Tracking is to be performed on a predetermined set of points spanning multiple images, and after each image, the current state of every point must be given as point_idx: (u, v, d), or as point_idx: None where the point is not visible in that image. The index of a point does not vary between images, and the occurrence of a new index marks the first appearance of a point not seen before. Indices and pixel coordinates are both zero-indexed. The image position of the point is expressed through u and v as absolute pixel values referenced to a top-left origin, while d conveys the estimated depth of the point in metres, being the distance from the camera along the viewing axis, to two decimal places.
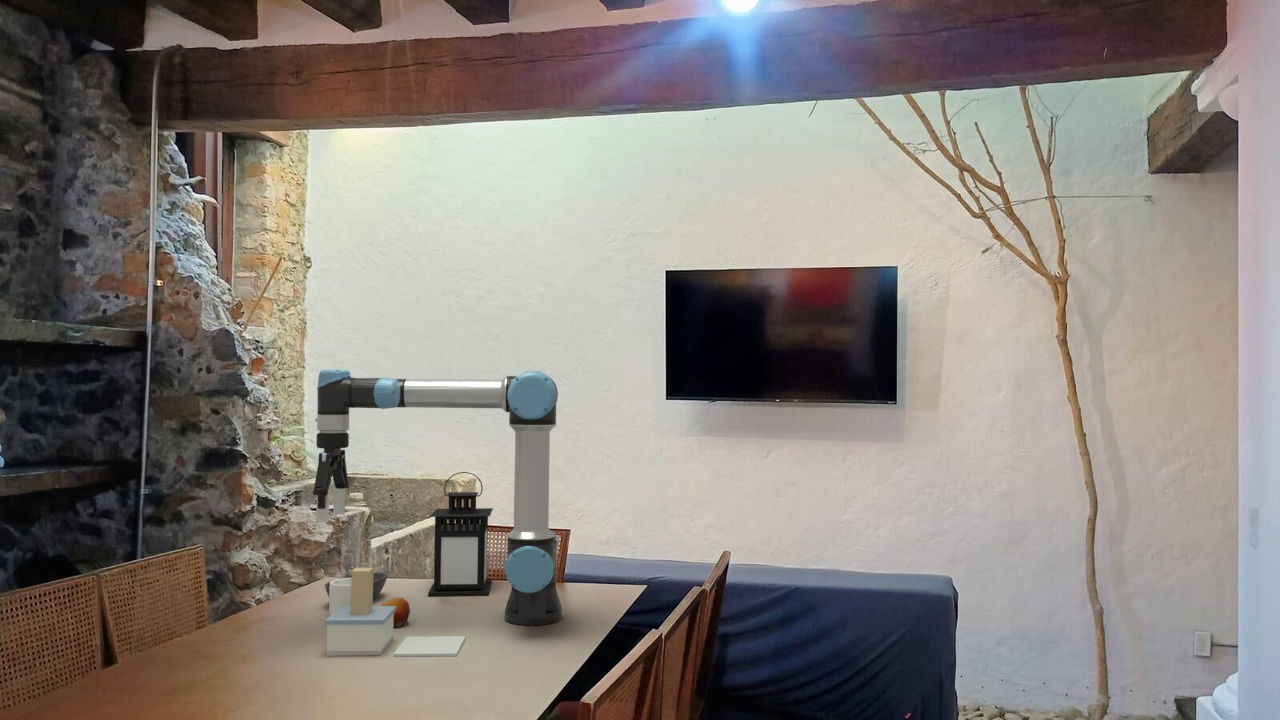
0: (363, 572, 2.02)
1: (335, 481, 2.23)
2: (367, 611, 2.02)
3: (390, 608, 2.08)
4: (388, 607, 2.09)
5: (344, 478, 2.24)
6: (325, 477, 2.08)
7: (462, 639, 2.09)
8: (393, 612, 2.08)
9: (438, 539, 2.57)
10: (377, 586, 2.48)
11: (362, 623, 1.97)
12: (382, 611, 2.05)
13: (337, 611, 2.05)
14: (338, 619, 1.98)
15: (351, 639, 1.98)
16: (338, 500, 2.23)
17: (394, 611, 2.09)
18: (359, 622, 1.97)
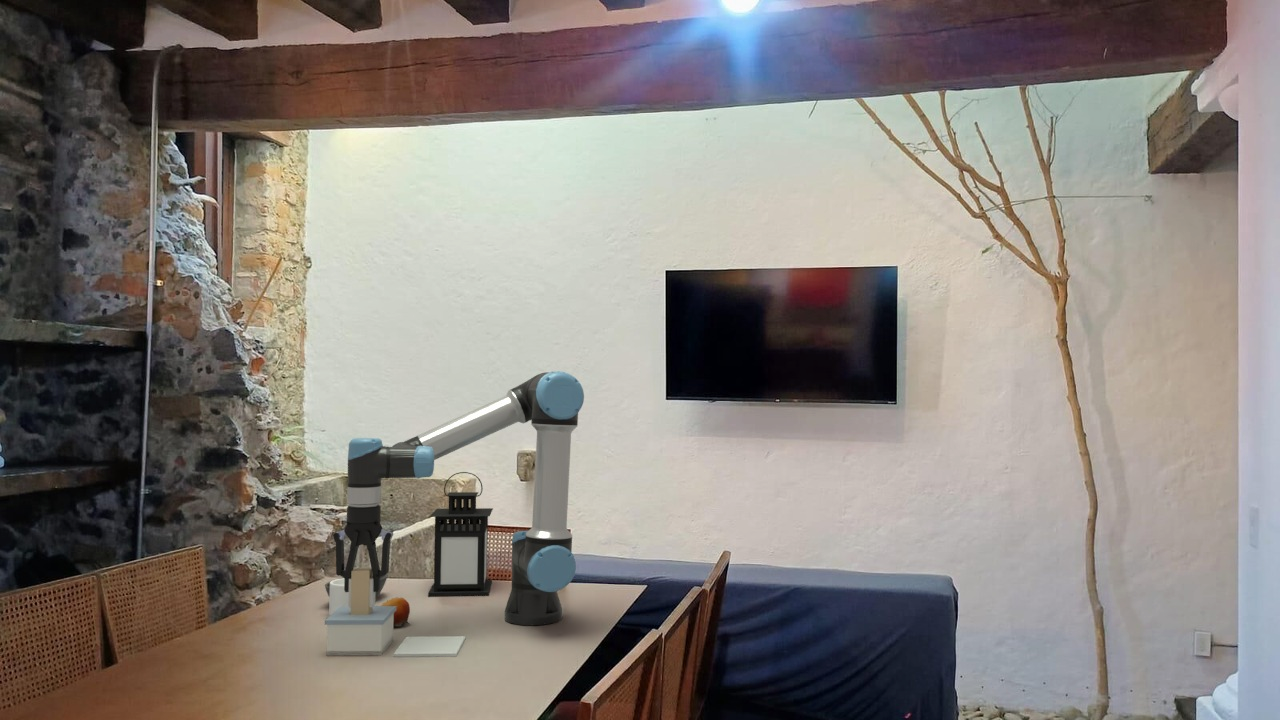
0: (363, 572, 2.02)
1: None
2: (367, 611, 2.02)
3: (390, 608, 2.08)
4: (388, 607, 2.09)
5: (375, 566, 2.03)
6: (336, 559, 2.03)
7: (462, 639, 2.09)
8: (393, 612, 2.08)
9: (438, 539, 2.57)
10: None
11: (362, 623, 1.97)
12: (382, 611, 2.05)
13: (337, 611, 2.05)
14: (338, 619, 1.98)
15: (351, 639, 1.98)
16: None
17: (394, 611, 2.09)
18: (359, 622, 1.97)
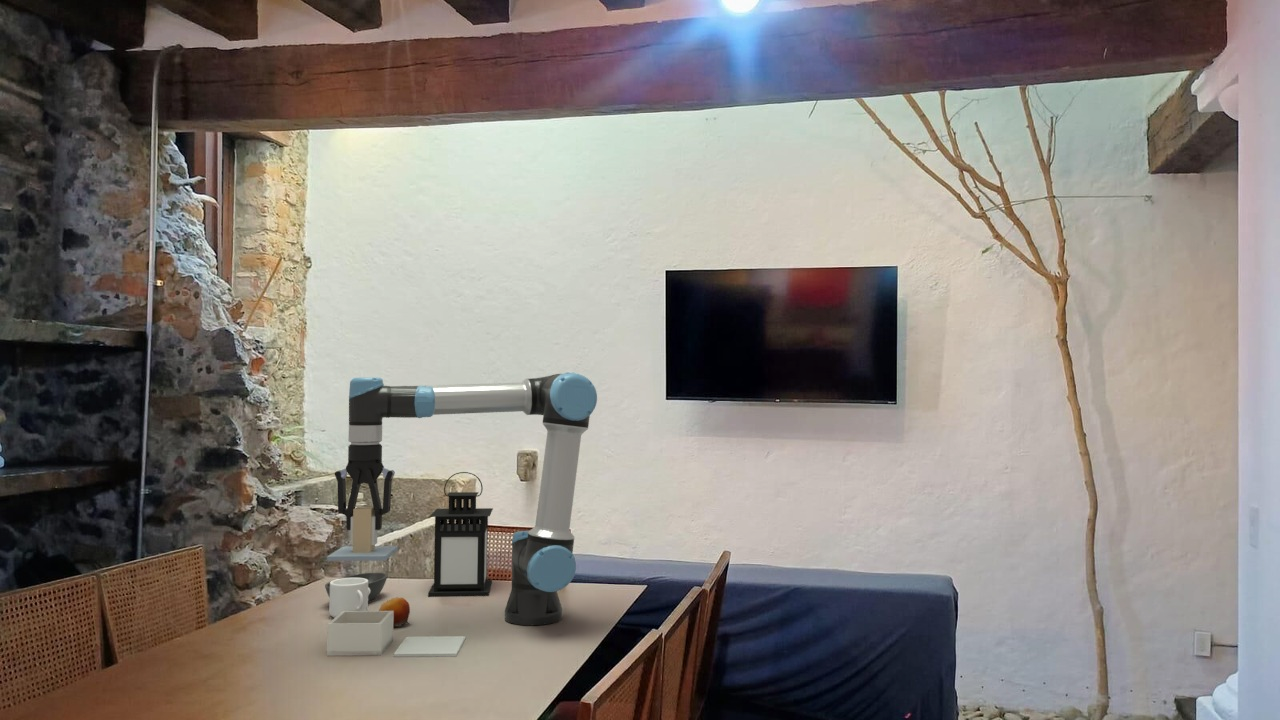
0: (365, 510, 2.03)
1: None
2: (369, 549, 2.03)
3: (392, 547, 2.09)
4: (390, 547, 2.10)
5: (377, 504, 2.04)
6: (338, 497, 2.04)
7: (462, 639, 2.09)
8: (395, 551, 2.08)
9: (438, 539, 2.57)
10: (377, 586, 2.48)
11: (364, 559, 1.98)
12: (384, 550, 2.06)
13: (339, 550, 2.05)
14: (340, 555, 1.98)
15: (351, 639, 1.98)
16: None
17: (396, 550, 2.09)
18: (361, 558, 1.98)
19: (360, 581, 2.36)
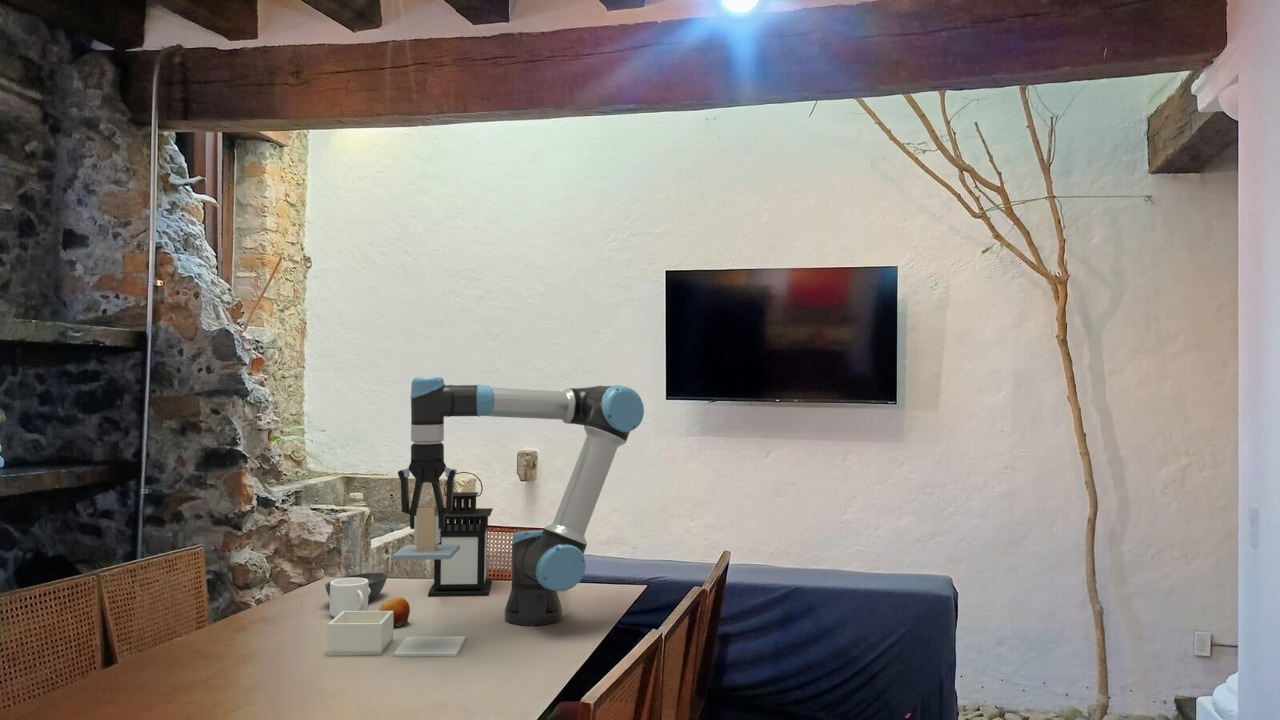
0: (428, 509, 2.04)
1: None
2: (433, 547, 2.03)
3: (454, 546, 2.10)
4: (452, 545, 2.11)
5: (440, 503, 2.05)
6: None
7: (462, 639, 2.09)
8: (457, 549, 2.09)
9: None
10: (377, 586, 2.48)
11: (429, 557, 1.99)
12: (447, 548, 2.07)
13: (403, 548, 2.06)
14: (405, 554, 1.99)
15: (351, 639, 1.98)
16: None
17: (458, 549, 2.10)
18: (426, 557, 1.99)
19: (360, 581, 2.36)
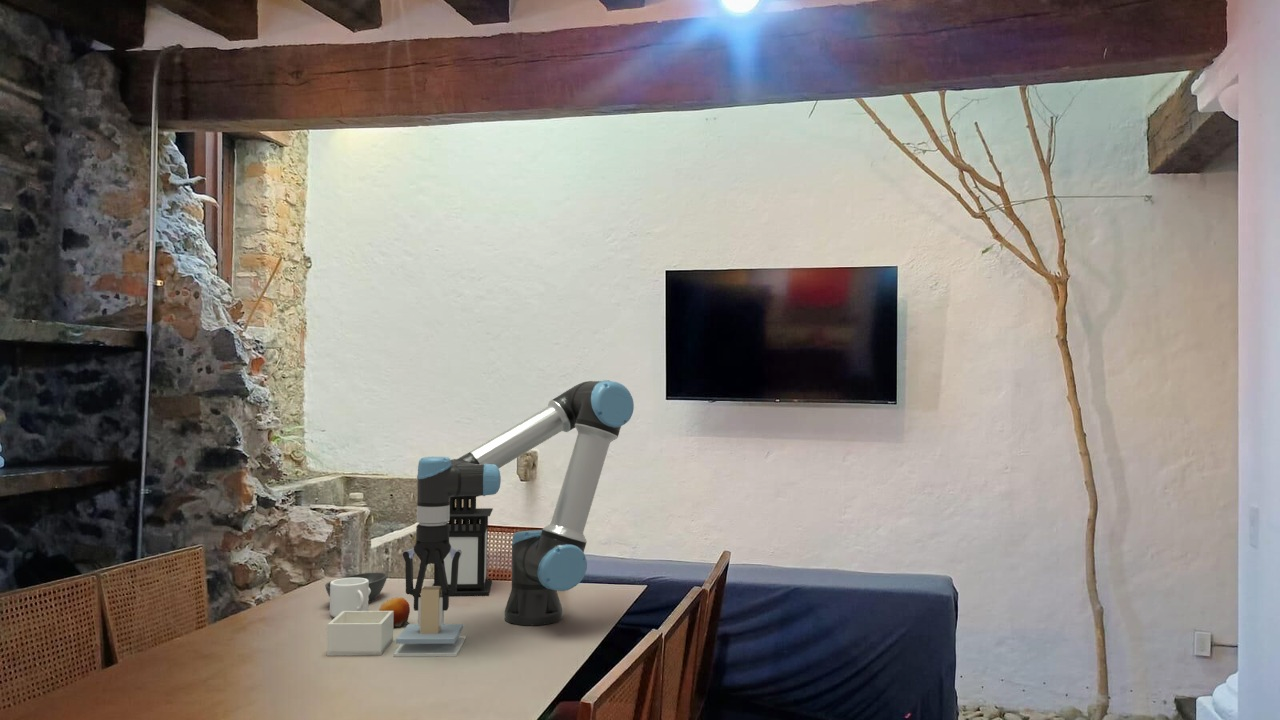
0: (433, 591, 2.03)
1: None
2: (437, 630, 2.03)
3: (458, 626, 2.09)
4: (455, 625, 2.10)
5: (445, 585, 2.04)
6: (406, 578, 2.04)
7: (462, 639, 2.09)
8: (461, 630, 2.08)
9: None
10: (377, 586, 2.48)
11: (433, 642, 1.98)
12: (450, 629, 2.06)
13: (406, 629, 2.05)
14: (409, 638, 1.98)
15: (351, 639, 1.98)
16: None
17: (461, 629, 2.09)
18: (430, 641, 1.98)
19: (360, 581, 2.37)
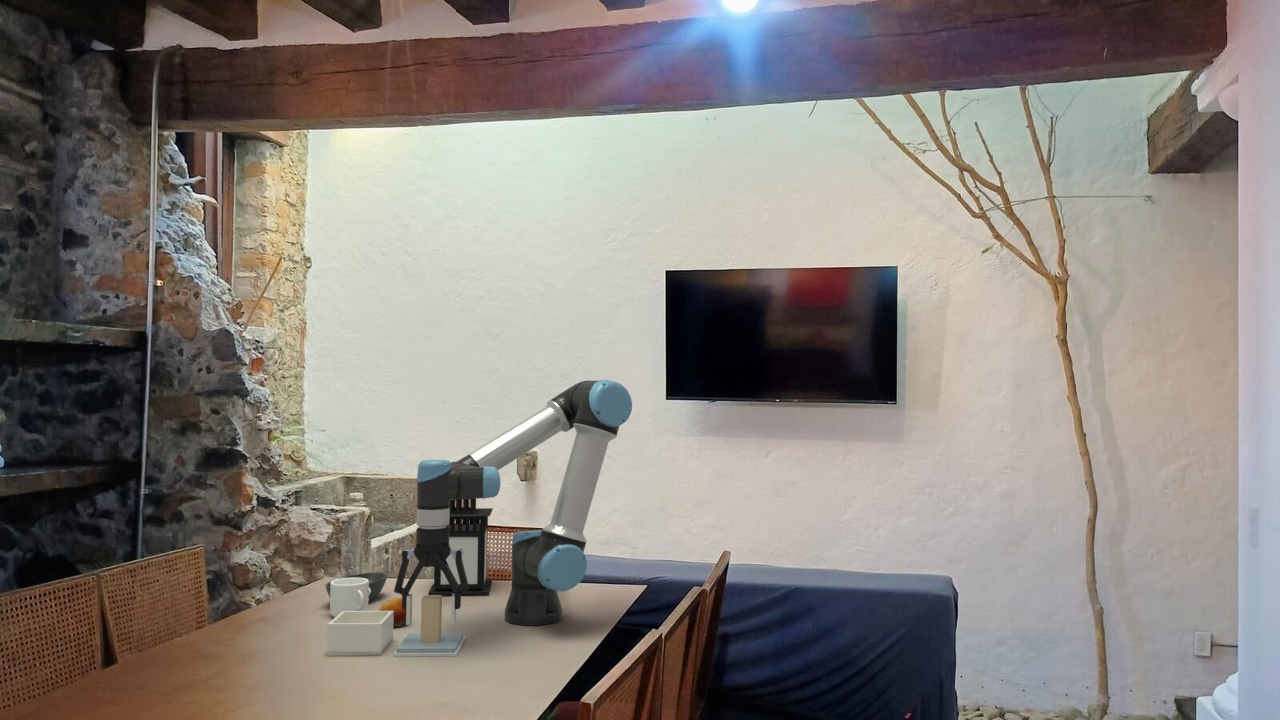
0: (433, 600, 2.03)
1: None
2: (437, 639, 2.03)
3: (458, 635, 2.09)
4: (456, 634, 2.10)
5: (454, 584, 2.04)
6: (398, 576, 2.04)
7: (462, 639, 2.09)
8: (461, 639, 2.08)
9: None
10: (377, 586, 2.48)
11: (434, 651, 1.98)
12: (451, 638, 2.06)
13: (406, 638, 2.05)
14: (410, 647, 1.98)
15: (351, 639, 1.98)
16: None
17: (462, 638, 2.09)
18: (430, 651, 1.98)
19: (361, 581, 2.37)
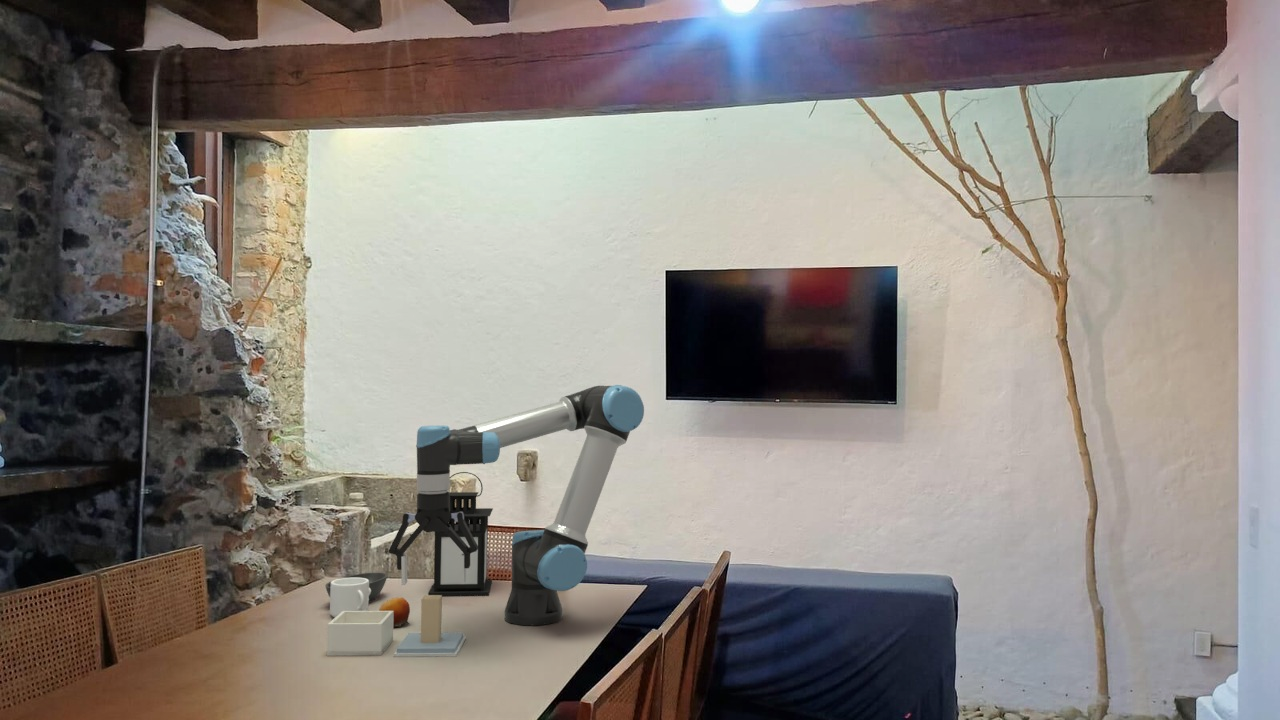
0: (433, 600, 2.03)
1: None
2: (437, 639, 2.03)
3: (458, 635, 2.09)
4: (456, 634, 2.10)
5: (461, 544, 2.05)
6: (395, 537, 2.04)
7: (462, 639, 2.09)
8: (461, 639, 2.08)
9: (438, 539, 2.57)
10: (377, 586, 2.48)
11: (434, 651, 1.98)
12: (451, 638, 2.06)
13: (406, 638, 2.05)
14: (410, 647, 1.98)
15: (351, 639, 1.98)
16: None
17: (462, 638, 2.09)
18: (430, 651, 1.98)
19: (361, 581, 2.37)
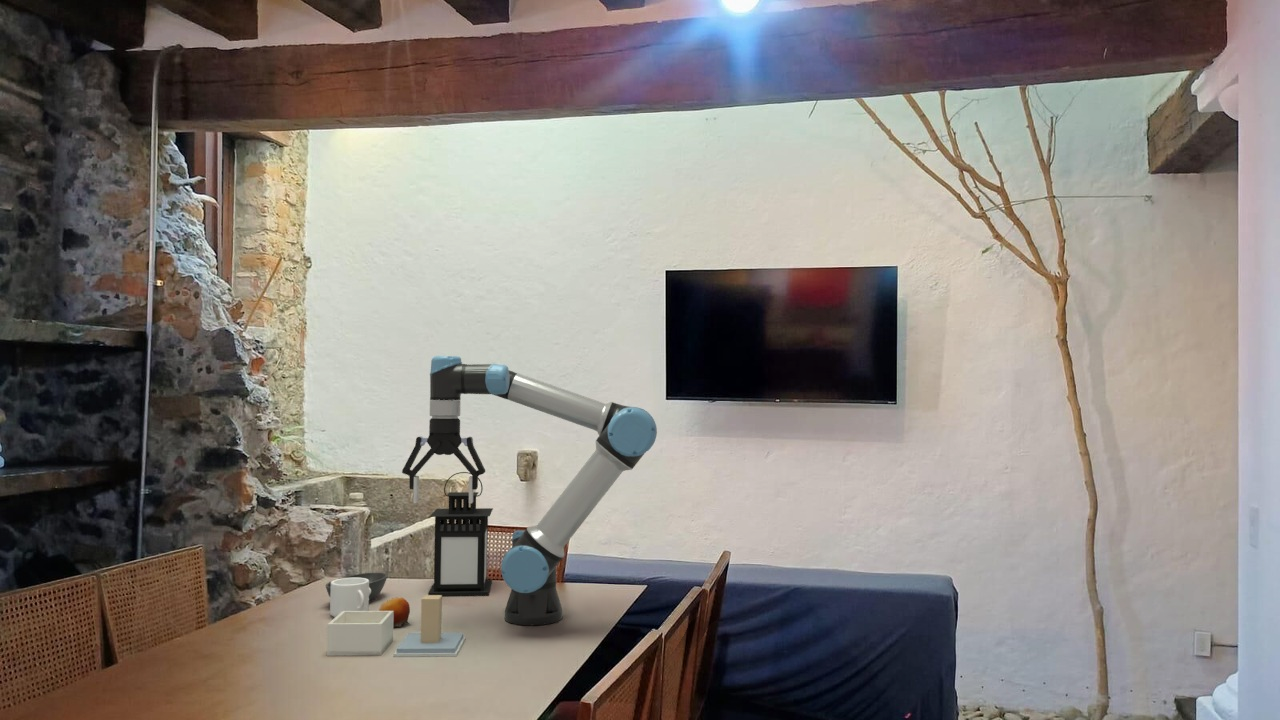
0: (433, 600, 2.03)
1: None
2: (437, 639, 2.03)
3: (458, 635, 2.09)
4: (456, 634, 2.10)
5: (470, 466, 2.19)
6: (408, 459, 2.18)
7: (462, 639, 2.09)
8: (461, 639, 2.08)
9: (438, 539, 2.57)
10: (378, 586, 2.48)
11: (434, 651, 1.98)
12: (451, 638, 2.06)
13: (406, 638, 2.05)
14: (410, 647, 1.98)
15: (351, 639, 1.98)
16: None
17: (462, 638, 2.09)
18: (430, 651, 1.98)
19: (361, 581, 2.37)
